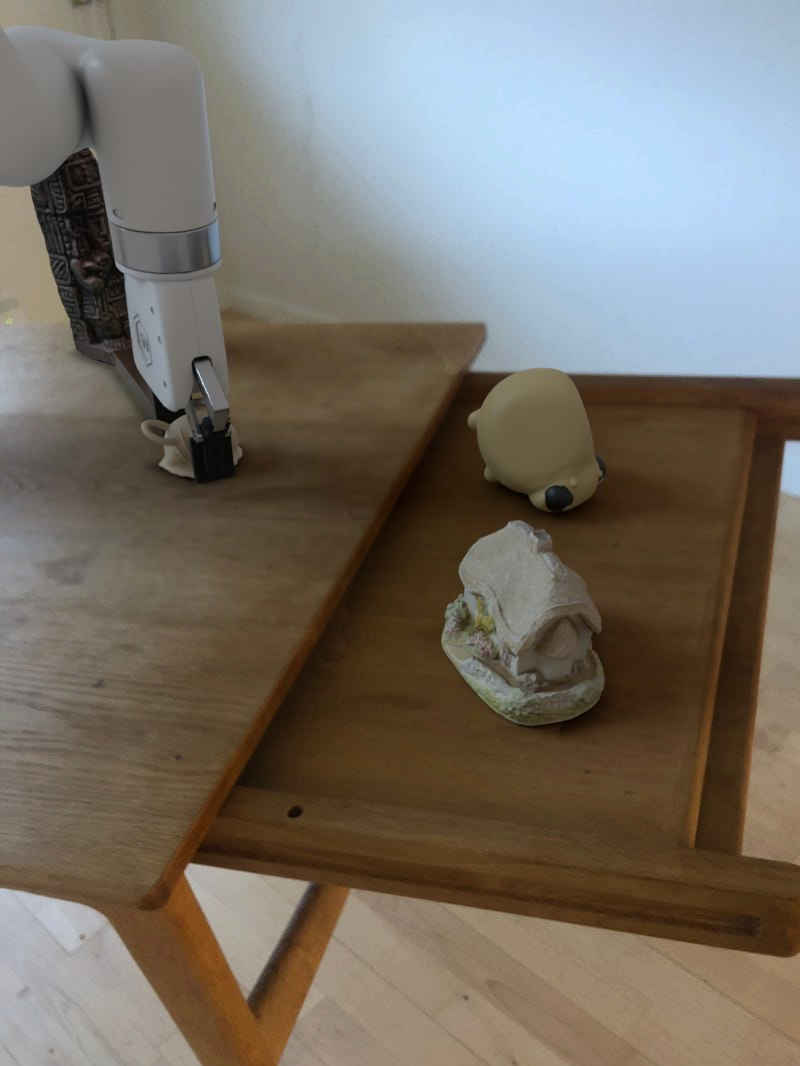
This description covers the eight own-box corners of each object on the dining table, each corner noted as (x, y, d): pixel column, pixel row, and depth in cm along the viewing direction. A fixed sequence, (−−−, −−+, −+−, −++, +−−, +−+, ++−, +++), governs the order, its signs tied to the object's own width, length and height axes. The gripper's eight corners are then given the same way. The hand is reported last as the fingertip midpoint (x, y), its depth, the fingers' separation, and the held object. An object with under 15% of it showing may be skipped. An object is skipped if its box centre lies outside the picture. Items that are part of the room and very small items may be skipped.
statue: (122, 369, 94) (81, 148, 81) (62, 353, 96) (12, 134, 83) (163, 343, 99) (131, 131, 86) (105, 329, 101) (64, 118, 88)
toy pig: (497, 543, 83) (579, 514, 74) (433, 416, 80) (509, 371, 72) (568, 499, 88) (652, 467, 80) (510, 379, 86) (589, 333, 77)
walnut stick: (163, 436, 85) (159, 414, 84) (116, 371, 94) (112, 350, 92) (187, 431, 86) (184, 409, 85) (138, 368, 95) (135, 346, 93)
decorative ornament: (252, 468, 82) (247, 412, 79) (155, 491, 78) (145, 432, 75) (235, 447, 85) (229, 391, 81) (140, 467, 81) (130, 410, 77)
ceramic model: (418, 606, 70) (422, 489, 63) (557, 581, 73) (575, 467, 67) (488, 742, 60) (502, 620, 53) (645, 705, 63) (676, 586, 57)
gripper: (81, 210, 73) (120, 414, 84) (151, 293, 62) (185, 514, 74) (178, 201, 76) (203, 398, 88) (261, 278, 66) (277, 492, 77)
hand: (195, 451), depth 80 cm, fingers open, 9 cm apart
